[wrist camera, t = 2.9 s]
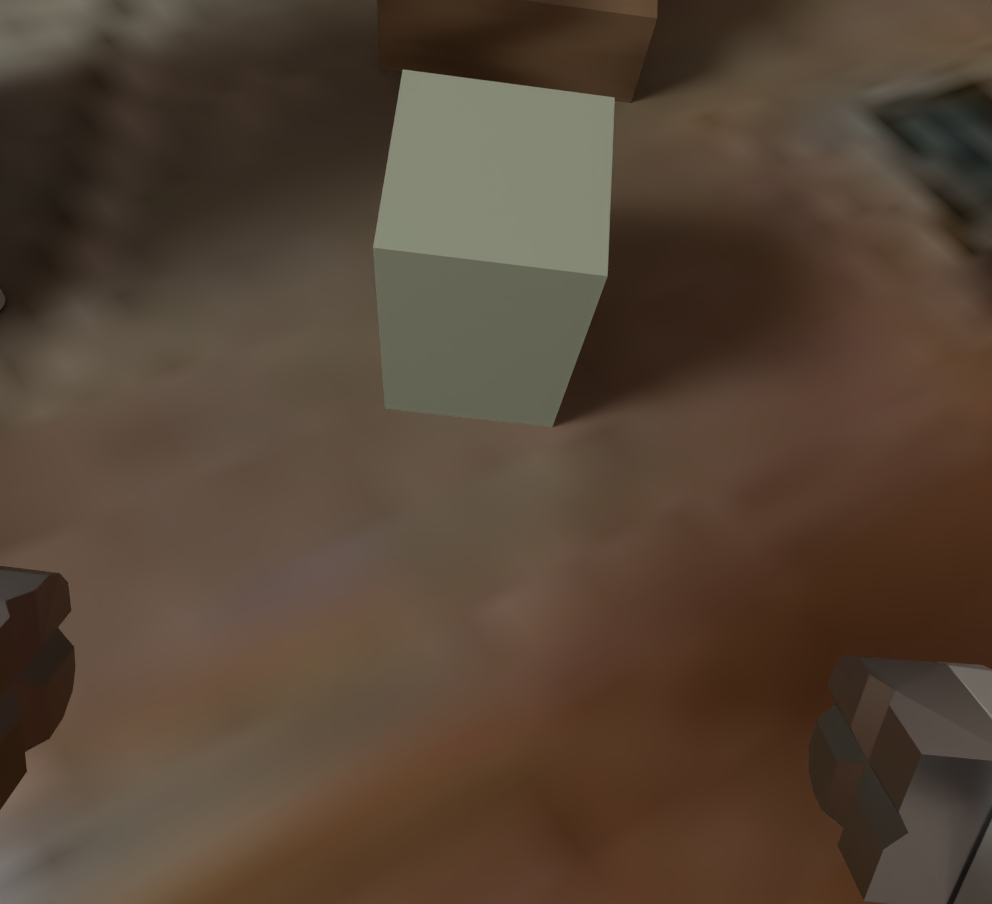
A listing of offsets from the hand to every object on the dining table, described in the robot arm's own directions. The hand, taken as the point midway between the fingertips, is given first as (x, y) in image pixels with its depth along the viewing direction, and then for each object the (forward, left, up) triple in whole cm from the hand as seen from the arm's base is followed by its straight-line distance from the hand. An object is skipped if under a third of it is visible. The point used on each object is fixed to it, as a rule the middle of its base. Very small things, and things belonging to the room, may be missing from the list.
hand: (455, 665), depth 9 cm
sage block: (0, +12, -14) cm, 18 cm away
